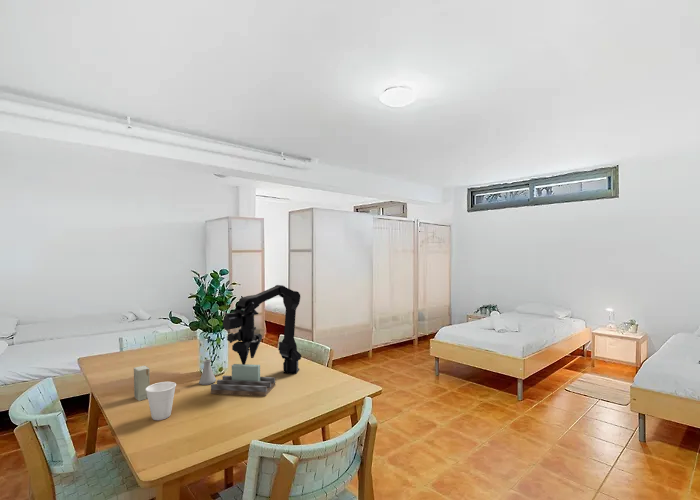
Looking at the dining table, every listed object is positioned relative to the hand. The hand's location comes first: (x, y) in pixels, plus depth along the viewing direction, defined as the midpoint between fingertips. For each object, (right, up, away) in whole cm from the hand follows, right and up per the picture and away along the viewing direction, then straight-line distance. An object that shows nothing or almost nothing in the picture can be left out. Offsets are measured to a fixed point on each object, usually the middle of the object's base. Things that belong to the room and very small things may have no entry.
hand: (248, 361), depth 161 cm
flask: (-20, -11, +5) cm, 23 cm away
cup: (-23, -12, -29) cm, 39 cm away
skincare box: (-40, -12, -11) cm, 43 cm away
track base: (-1, -11, -4) cm, 12 cm away
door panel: (-1, -10, -1) cm, 10 cm away
